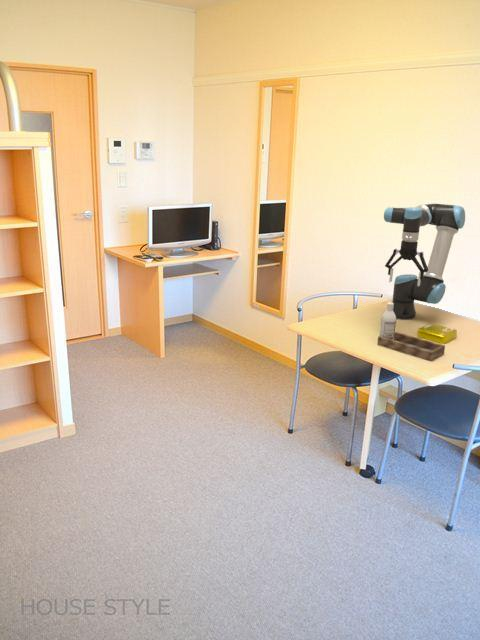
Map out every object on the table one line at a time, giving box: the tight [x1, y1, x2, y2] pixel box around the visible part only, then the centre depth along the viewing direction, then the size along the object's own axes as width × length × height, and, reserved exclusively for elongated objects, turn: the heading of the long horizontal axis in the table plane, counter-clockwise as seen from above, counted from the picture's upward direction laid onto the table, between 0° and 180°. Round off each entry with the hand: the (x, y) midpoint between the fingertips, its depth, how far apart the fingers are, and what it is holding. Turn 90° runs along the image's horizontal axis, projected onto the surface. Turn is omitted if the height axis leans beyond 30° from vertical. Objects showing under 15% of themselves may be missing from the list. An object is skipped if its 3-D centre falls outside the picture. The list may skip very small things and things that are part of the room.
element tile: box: [416, 323, 458, 345], centre depth 273 cm, size 15×15×5 cm
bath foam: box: [379, 301, 397, 341], centre depth 262 cm, size 7×7×20 cm
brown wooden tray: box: [377, 331, 446, 362], centre depth 256 cm, size 28×13×4 cm, turn 45°
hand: (404, 283), depth 265 cm, fingers open, 13 cm apart
